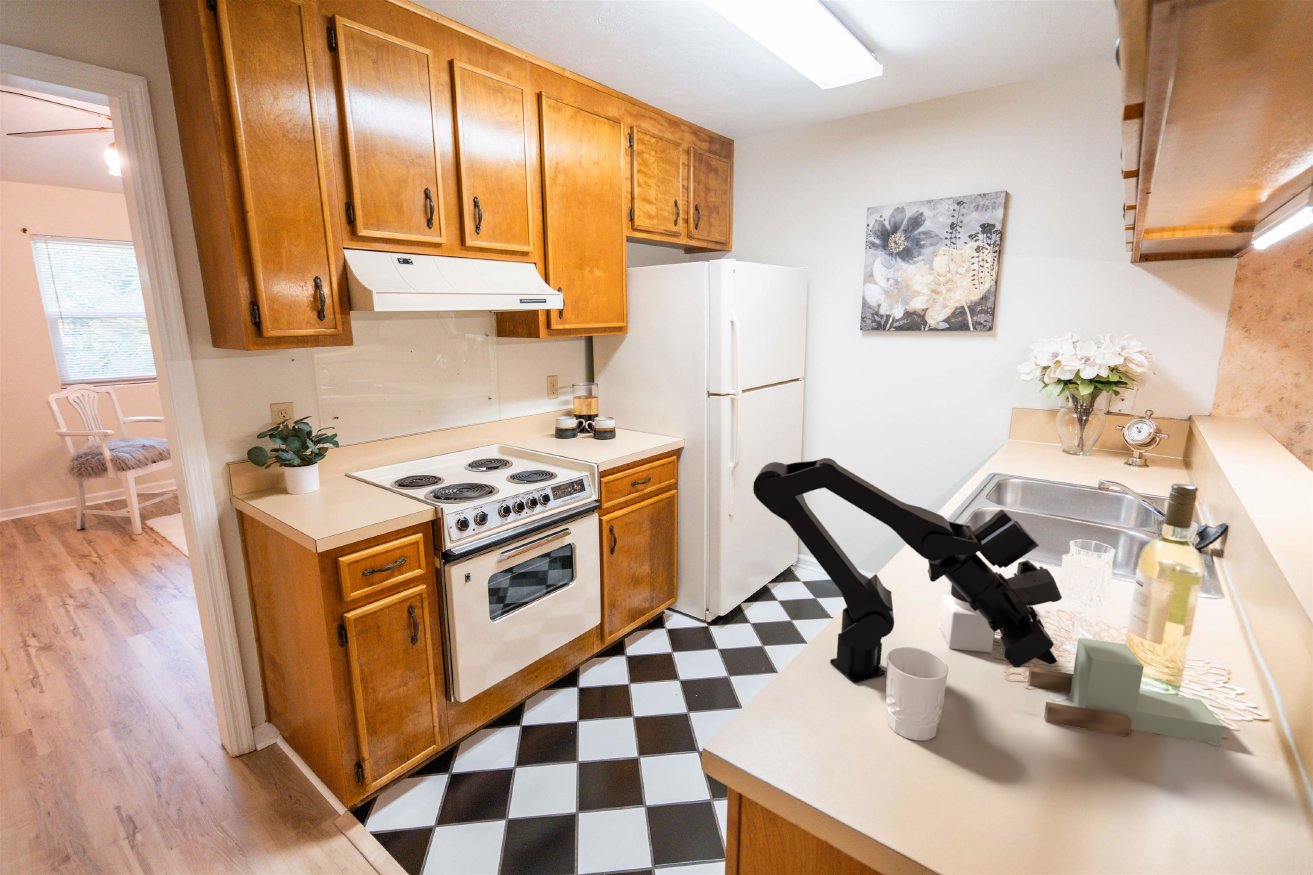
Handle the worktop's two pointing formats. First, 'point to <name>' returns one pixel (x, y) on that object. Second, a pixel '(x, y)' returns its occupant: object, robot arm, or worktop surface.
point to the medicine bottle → (964, 625)
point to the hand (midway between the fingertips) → (1053, 661)
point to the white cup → (915, 692)
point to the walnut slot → (1076, 714)
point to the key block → (1136, 694)
